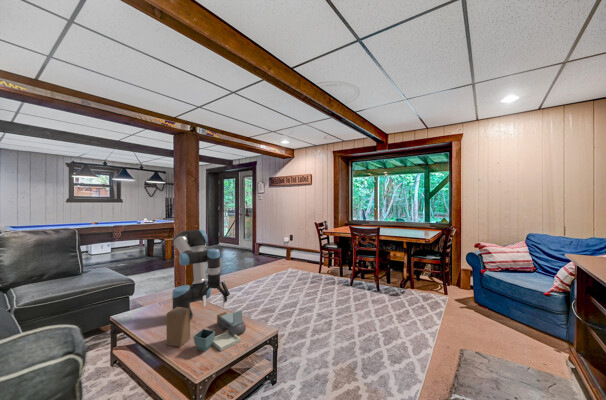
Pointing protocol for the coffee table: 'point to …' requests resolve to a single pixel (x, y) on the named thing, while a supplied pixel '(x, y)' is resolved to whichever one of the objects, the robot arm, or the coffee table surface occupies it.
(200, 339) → the flower pot
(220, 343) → the tray
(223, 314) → the block
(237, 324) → the trolley
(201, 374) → the coffee table surface
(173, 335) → the wooden block
